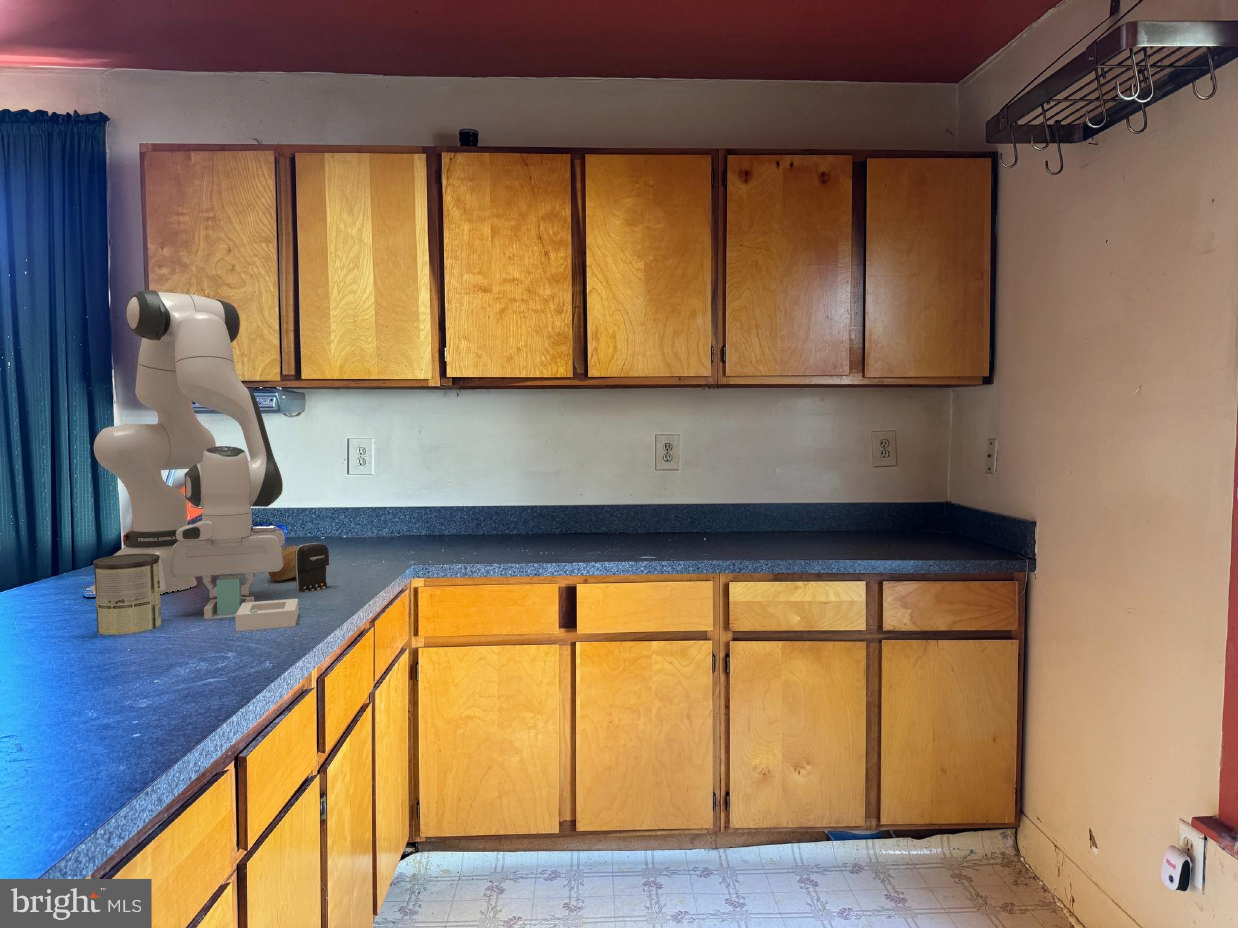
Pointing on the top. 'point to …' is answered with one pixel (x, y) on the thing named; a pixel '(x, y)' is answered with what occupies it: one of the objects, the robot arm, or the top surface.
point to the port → (267, 615)
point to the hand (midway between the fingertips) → (229, 595)
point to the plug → (228, 594)
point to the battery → (311, 566)
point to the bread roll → (286, 565)
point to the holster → (211, 608)
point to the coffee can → (127, 593)
